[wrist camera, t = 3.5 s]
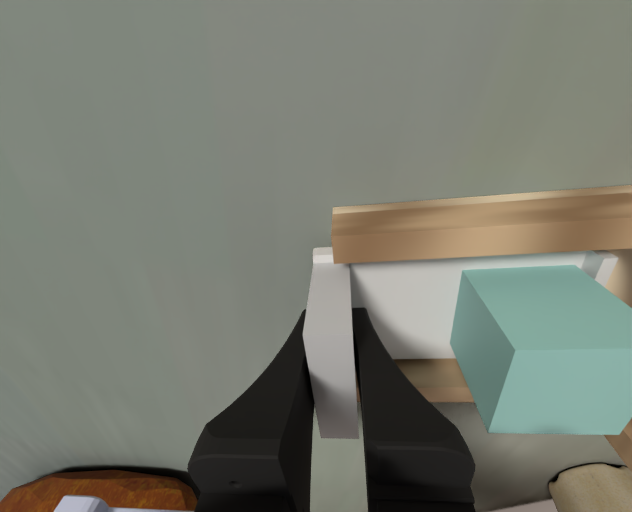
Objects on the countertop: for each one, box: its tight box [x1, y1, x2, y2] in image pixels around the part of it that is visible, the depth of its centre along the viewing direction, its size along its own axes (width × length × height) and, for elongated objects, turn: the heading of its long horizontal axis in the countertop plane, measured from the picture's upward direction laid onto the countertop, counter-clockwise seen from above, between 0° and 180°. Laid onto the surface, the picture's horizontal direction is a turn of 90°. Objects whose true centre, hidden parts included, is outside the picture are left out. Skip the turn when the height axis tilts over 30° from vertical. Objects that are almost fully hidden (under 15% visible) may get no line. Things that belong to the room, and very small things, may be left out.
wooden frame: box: [331, 185, 632, 472], centre depth 11 cm, size 18×10×8 cm, turn 96°
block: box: [450, 265, 632, 435], centre depth 12 cm, size 4×4×4 cm
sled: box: [303, 247, 618, 439], centre depth 12 cm, size 12×7×5 cm, turn 96°
